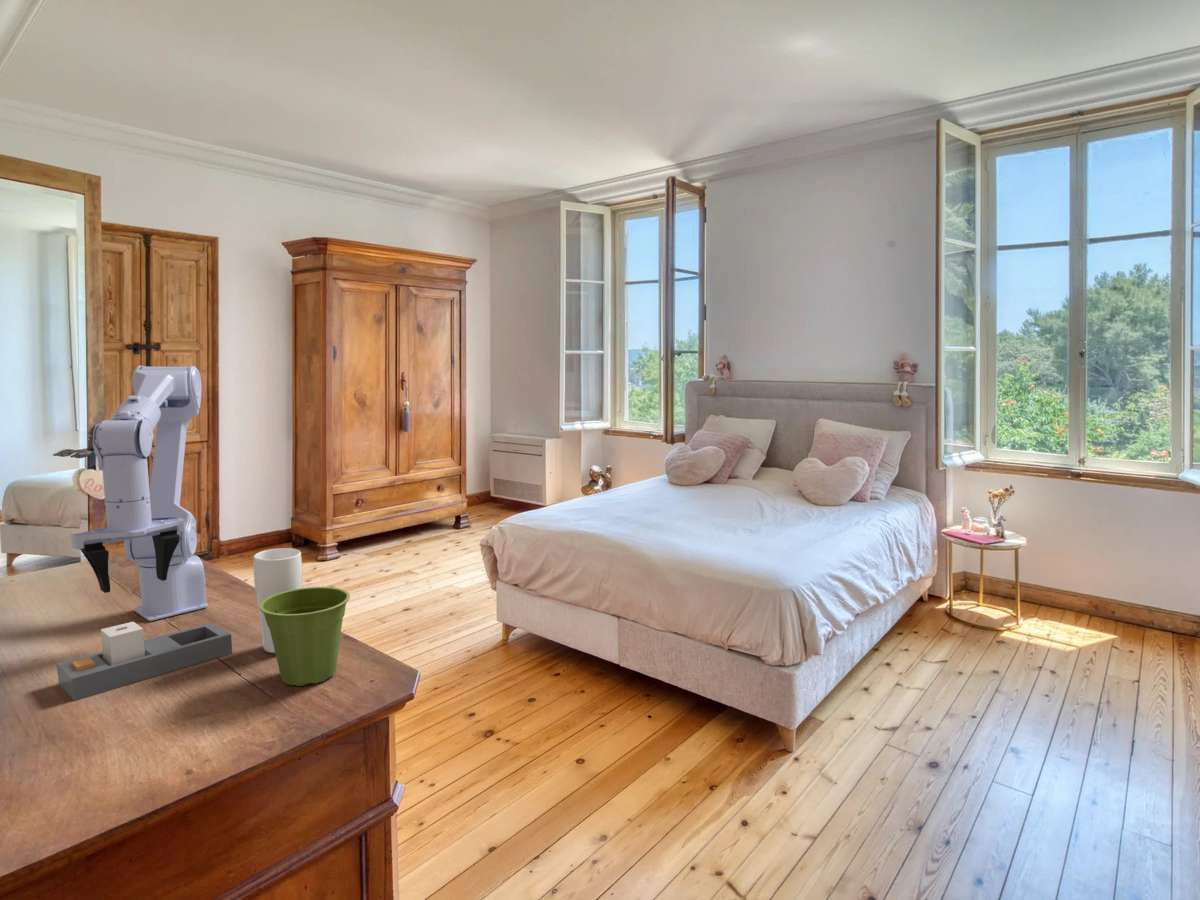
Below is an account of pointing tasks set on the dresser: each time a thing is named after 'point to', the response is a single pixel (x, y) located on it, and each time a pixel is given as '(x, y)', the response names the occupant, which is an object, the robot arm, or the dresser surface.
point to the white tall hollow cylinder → (275, 580)
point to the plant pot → (306, 631)
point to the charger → (122, 643)
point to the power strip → (144, 661)
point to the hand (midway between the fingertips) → (134, 584)
